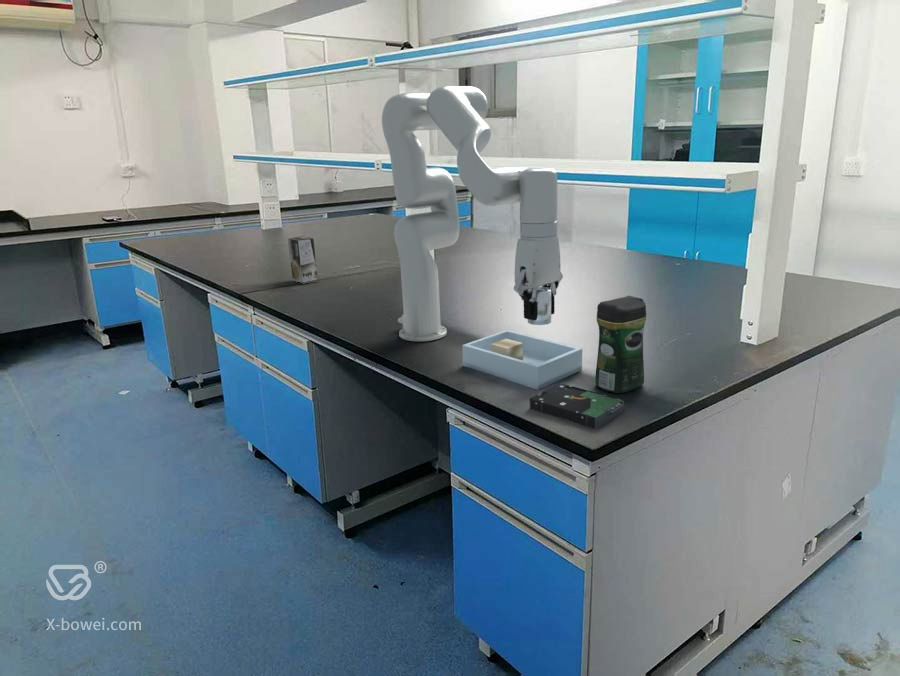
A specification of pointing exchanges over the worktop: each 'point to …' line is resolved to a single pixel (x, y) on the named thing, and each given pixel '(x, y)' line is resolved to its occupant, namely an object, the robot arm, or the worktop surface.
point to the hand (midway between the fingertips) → (539, 315)
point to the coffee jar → (620, 344)
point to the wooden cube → (508, 348)
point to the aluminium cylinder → (542, 306)
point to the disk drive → (577, 405)
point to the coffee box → (302, 258)
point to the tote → (524, 359)
